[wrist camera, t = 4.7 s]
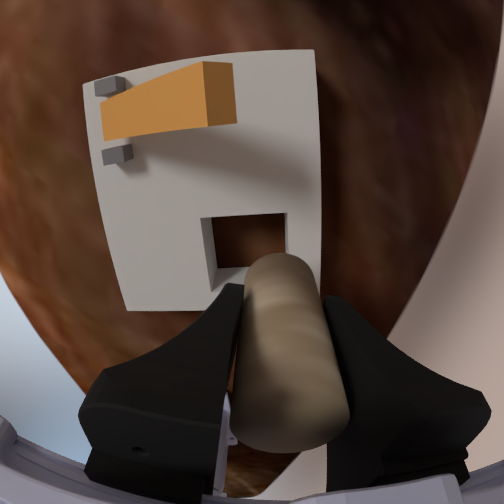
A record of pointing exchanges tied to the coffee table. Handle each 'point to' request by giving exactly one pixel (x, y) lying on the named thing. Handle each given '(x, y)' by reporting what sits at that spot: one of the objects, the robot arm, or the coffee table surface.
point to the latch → (173, 102)
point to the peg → (285, 362)
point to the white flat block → (208, 179)
